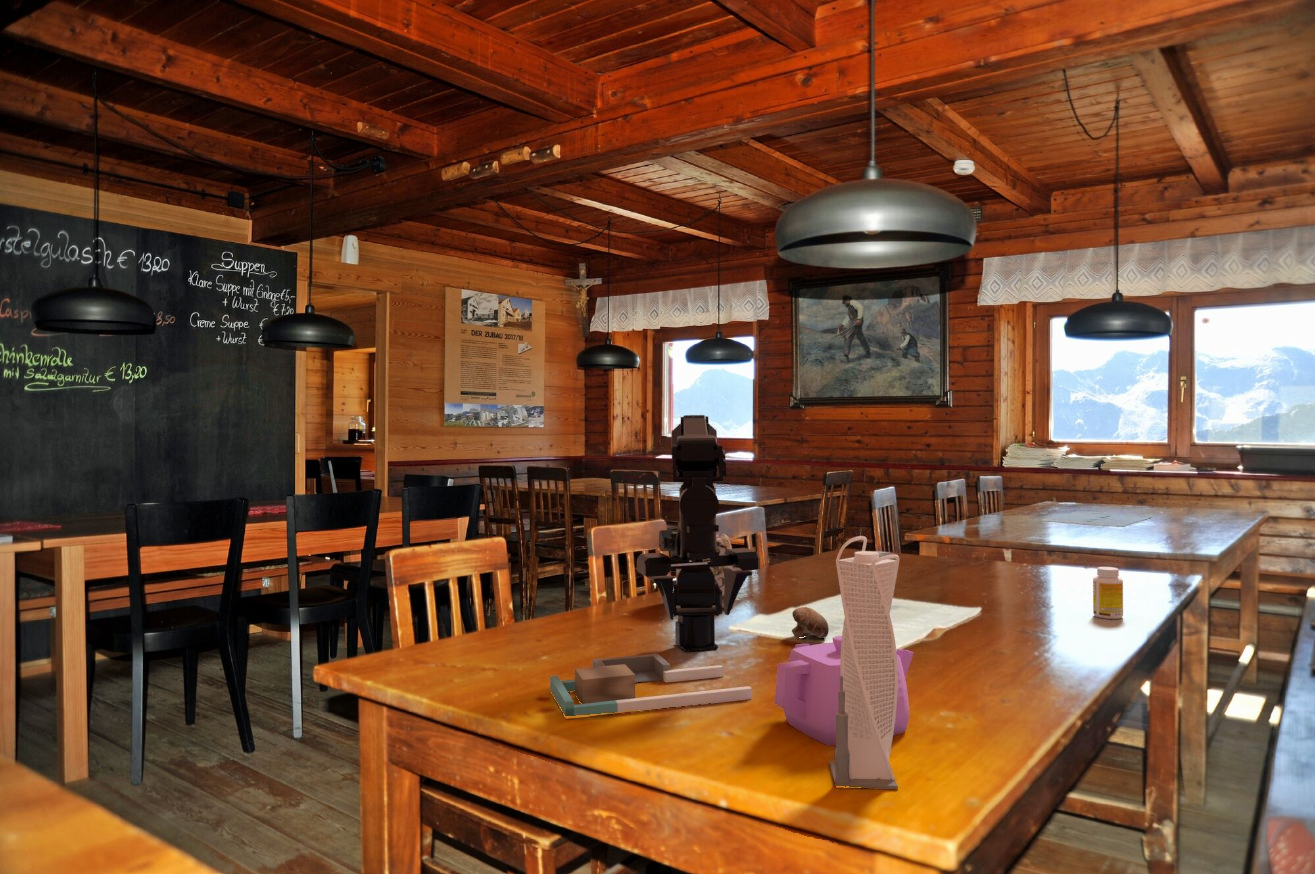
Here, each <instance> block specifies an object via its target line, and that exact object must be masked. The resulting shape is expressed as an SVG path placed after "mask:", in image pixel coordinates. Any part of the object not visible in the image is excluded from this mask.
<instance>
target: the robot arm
mask: <svg viewBox="0 0 1315 874" xmlns="http://www.w3.org/2000/svg"><path fill="white" fill-rule="evenodd" d="M670 433H671V434H670V435H671V437H670V438H671V443H670V444H671V460H672V482H673V483H682V484H681V485H680V487H679V488H678V489H679V490H678V491H679V492H678V493H679V494H678V495H679V498H678V499H679V522H677V528H676V529H677V530H676V533H673V530H672V529H667V530H666V529H665V530H664V529H661V530H659V532H658V545H659V551H660V552H649V553H640V554H639V555H638V556H637V559H636V572H638V573H639V574H640V575H642V576H644V577H646V578H647V579H649V580H650V581H652V582H654V584H655V585H656V587H657V589H658V592H659V593H660V596H661V598H662V602H663V605H664V607H665V608H664V609H665V611H666V613H667V617H668V619H669V620H670V621H671V620H674V617H677V620H676V621H675V623H674V625H675V632H674V634H675V641H674V642H675V644H676V645H677V646H678V647H679V648H680V649H681V650H683V651H684V652H692V651H695V652H696V651H706V650H714V649H715V650H717V649H719V645H718V644H717V643H716V639H715V638H716V636H715V635H716V634H715V633H716V632H715V629H716V628H715V627H716V626H715V625H716V623H715V621H716V620H715V617H719V616H720V615H722V614H723V611H724V615H725V616H730V613H731V610H732V609H733V608H732V606H733V604H735V602H736V598H738V597H737V596H738V595H739V592H740V590H741V588H742V587H743V585H744V583H745V581H746V579H747V578H748V577H749V576H753V571H759V570H760V569H761V558H760V554H758V552H757V551H755V550H752V549H749V548H747V547H739V548H736V547H735V548H732V549H726V550H725V553H724V554H722V555H719V551H717V544H716V533H720V525H719V524H717V514H718V513H719V512H718V511H719V508H720V501H719V499H718V496H717V490H716V489H717V488H716V487H715V485H714V482H718V483H719V482H722V483H723V482H724V477H727V459H726V451H725V450H724V448H723V445H722V444H721V443H720V444H719V443H718V434H717V429H716V428H714V427H713V426H712V425H711V424H710V422H709V416H706V415H705V414H687V415H683V416H680V423H679V424H678V425H677V426H675V428H673V429H672V430H671V432H670ZM677 474H678V475H677ZM662 552H670V556H669V555H667V554H665V553H662ZM679 556H680V557H679ZM707 561H710V562H707ZM718 566H727V568H723V572H724V577H725V589H724V609H722V590H721V589H720V587H719V585H718V583H715V575H714V572H713V571H712V569H711V567H718ZM676 569H679V571H678V573H677V583H676V582H674V577H672V576H670V575H669V574H670V572H671V571H672V570H676ZM712 605H715V607H712Z"/></svg>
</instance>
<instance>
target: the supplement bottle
mask: <svg viewBox="0 0 1315 874" xmlns="http://www.w3.org/2000/svg"><path fill="white" fill-rule="evenodd" d="M1119 570H1120V569H1119V568H1117V567H1113V566H1099V567H1097V571H1096V574H1097V575H1095V576H1093V579H1092V590H1093V591H1092V595H1093V596H1092V606H1093V607H1092V609H1093V610H1092V612H1093V615H1094V616H1095V617H1097V618H1100V619H1104V620H1119V619H1123V616H1124V581H1123V579H1122V578H1121V577H1120V575H1119V574H1120V573H1119Z"/></svg>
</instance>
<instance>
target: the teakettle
mask: <svg viewBox="0 0 1315 874" xmlns="http://www.w3.org/2000/svg"><path fill="white" fill-rule="evenodd" d="M831 639H832V641H831V642H825V643H819V644H818V643H817V644H811V645H810V643H800V644H795V647H794V648H793V649H791V651H790V654H789V657H788V661H787V662H781V663H777V666H776V668H777V669H776V671H777V672H776V679H775V680H776V682H775V683H776V684H775V692H774V694H775V695H774V704H775V705H777V706H779V707H780V708H782V709H783V713H784V717H785V720H786V722H787V723H788V725H790V727H791V726H792V727H793V728H795V729H796V730H798V731H799V732H801V733H803V734H804V735H806V736H808V737H809V738H811V739H813V740H815V741H817V742H818V743H819V742H820V743H821V744H823V745H826V746H829V747H830V746H833V747H836V715H835V712H839V703H838V690H840V657H841V642H842V635H837V636H834V637H832V638H831ZM896 651H897V664H898V693H897V707H896V717H895V725H894V732H893V736H896V735H900V734H902V733H905V732H906V730H907V726H908V723H909V720H910V703H909V695H908V693H909V692H908V687H907V681H906V677H907V674H908V671H909V668H910V666H911V661H913V656H914V652H913V651H911V650H908V649H900V648H899V649H898V648H896Z"/></svg>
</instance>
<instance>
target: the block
mask: <svg viewBox="0 0 1315 874" xmlns="http://www.w3.org/2000/svg"><path fill="white" fill-rule="evenodd" d="M574 680H575V692H574V695H576V696H577V698H578V699H579V701H580V702H581V703H582V704H587V703H597V702H606V701H615V700H625V699H634V698H636V683H635V674H634V673H633V672H632V671H631V670H630V669H629V668H628V667H627V666H626V665H625V664H622V665H611V666H601V667H593V666H591V667H582V668H574Z"/></svg>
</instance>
